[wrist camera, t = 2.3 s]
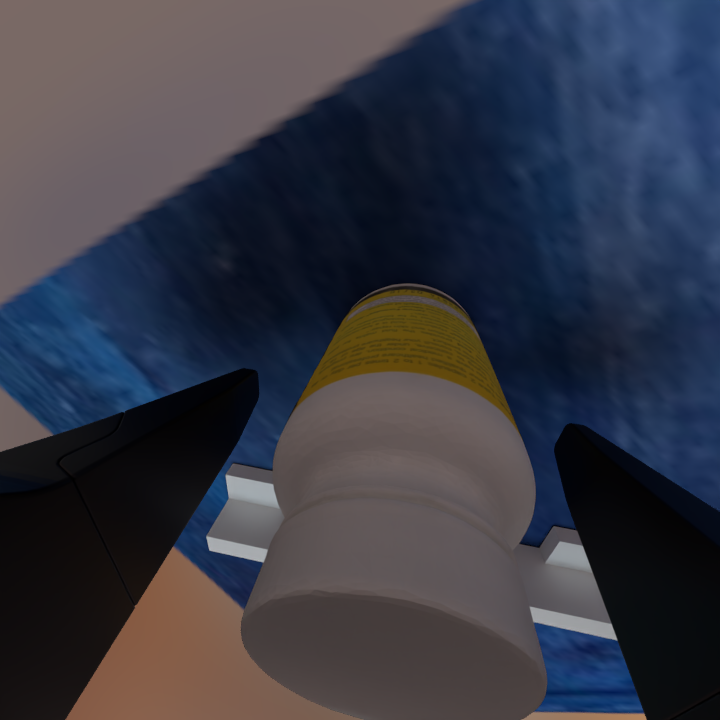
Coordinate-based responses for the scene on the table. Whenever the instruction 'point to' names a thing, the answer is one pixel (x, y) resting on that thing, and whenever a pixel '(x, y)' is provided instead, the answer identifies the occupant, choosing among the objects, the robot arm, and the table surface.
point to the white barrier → (536, 565)
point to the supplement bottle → (401, 526)
